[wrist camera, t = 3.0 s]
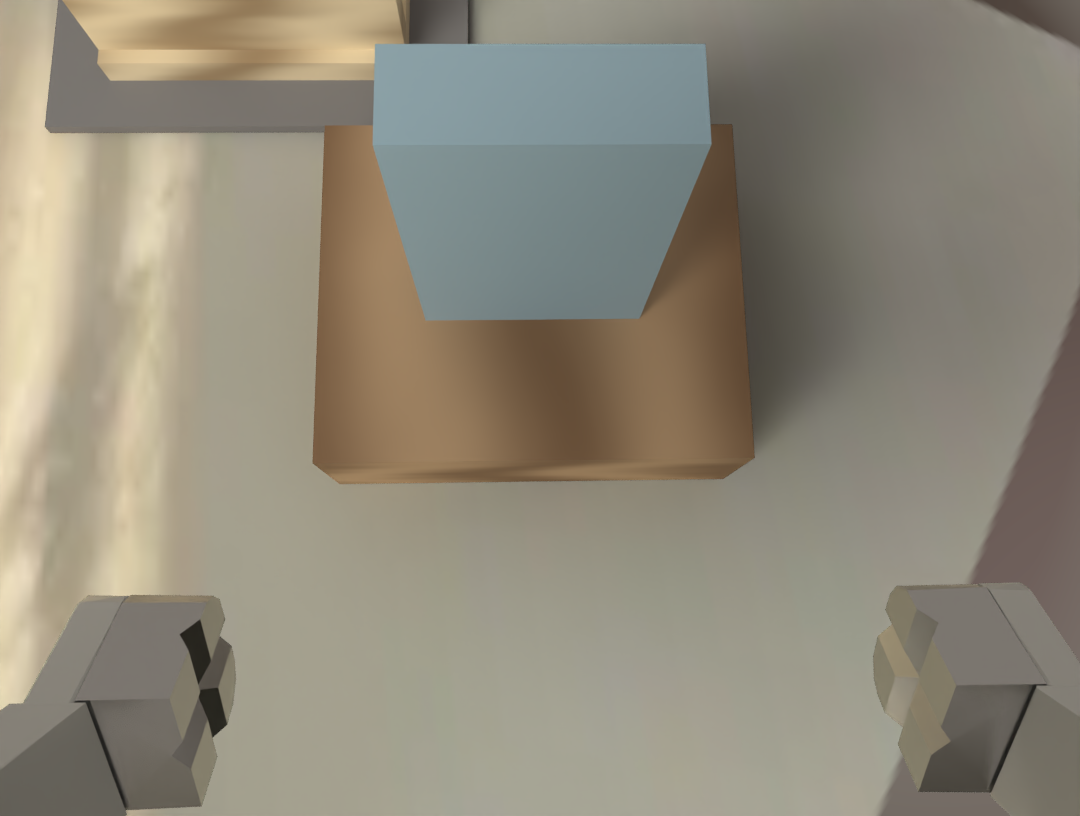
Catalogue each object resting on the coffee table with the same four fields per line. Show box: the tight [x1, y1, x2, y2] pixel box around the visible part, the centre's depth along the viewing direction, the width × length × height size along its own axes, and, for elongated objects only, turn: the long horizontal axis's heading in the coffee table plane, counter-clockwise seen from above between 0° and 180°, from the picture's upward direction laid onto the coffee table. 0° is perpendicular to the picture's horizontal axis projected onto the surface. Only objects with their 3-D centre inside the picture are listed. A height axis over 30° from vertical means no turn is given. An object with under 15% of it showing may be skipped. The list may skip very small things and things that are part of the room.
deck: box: [313, 124, 755, 484], centre depth 29 cm, size 12×10×4 cm
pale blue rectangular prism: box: [373, 44, 712, 321], centre depth 22 cm, size 6×2×10 cm, turn 91°
